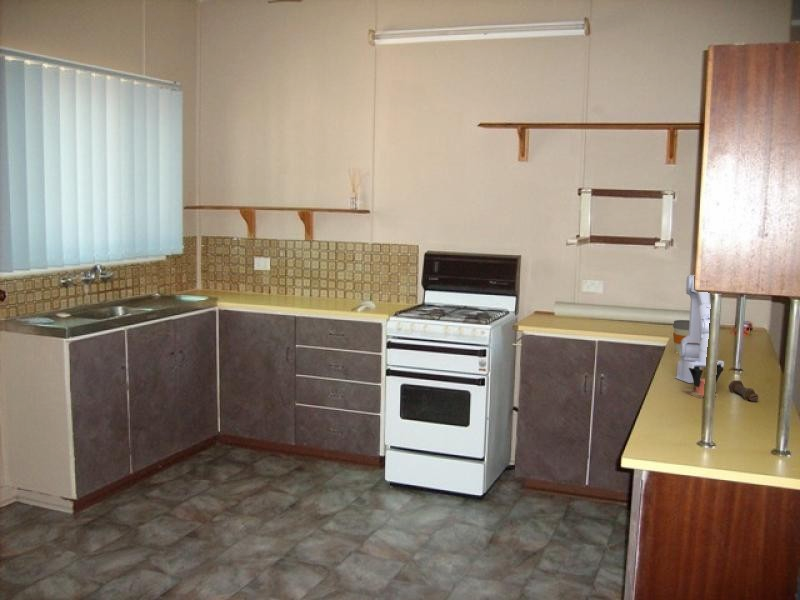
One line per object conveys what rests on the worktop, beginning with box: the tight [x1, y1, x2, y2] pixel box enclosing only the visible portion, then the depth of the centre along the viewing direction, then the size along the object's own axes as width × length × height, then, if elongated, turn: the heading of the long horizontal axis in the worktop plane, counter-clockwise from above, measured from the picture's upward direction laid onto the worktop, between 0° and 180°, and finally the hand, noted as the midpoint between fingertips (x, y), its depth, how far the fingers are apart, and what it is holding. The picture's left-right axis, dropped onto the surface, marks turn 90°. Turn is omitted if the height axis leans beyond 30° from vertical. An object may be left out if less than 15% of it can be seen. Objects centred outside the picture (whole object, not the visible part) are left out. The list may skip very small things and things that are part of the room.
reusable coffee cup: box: [672, 319, 699, 353], centre depth 379 cm, size 13×13×15 cm
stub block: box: [681, 385, 718, 399], centre depth 303 cm, size 10×8×4 cm
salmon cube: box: [695, 378, 706, 395], centre depth 301 cm, size 5×5×5 cm
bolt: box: [728, 379, 759, 403], centre depth 300 cm, size 6×5×15 cm
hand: (704, 385), depth 301 cm, fingers open, 7 cm apart
